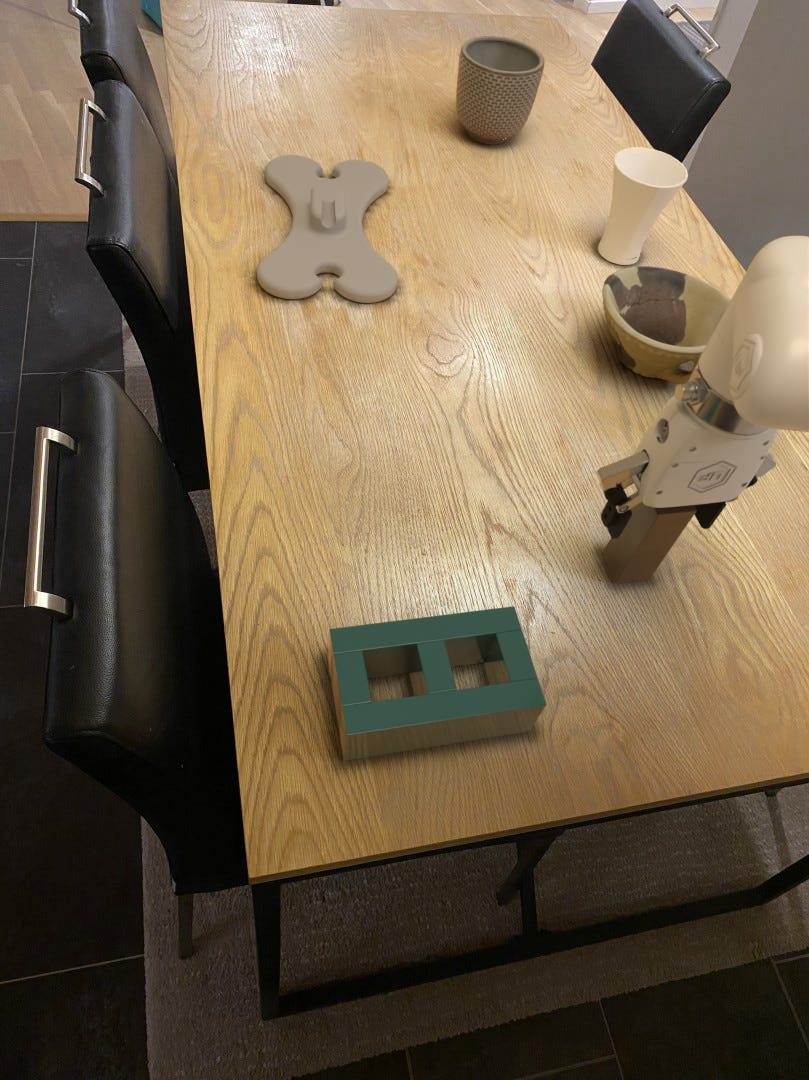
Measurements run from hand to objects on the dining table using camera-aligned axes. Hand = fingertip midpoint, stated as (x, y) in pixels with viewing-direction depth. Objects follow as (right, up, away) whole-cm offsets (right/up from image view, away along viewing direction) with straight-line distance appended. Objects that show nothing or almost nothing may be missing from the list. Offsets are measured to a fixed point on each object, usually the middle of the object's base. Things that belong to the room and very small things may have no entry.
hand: (654, 521), depth 75 cm
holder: (-36, +44, +37) cm, 68 cm away
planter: (-10, +69, +59) cm, 91 cm away
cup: (+8, +42, +42) cm, 60 cm away
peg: (-1, -5, +7) cm, 8 cm away
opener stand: (-23, -16, -4) cm, 28 cm away
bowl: (+8, +22, +27) cm, 36 cm away
